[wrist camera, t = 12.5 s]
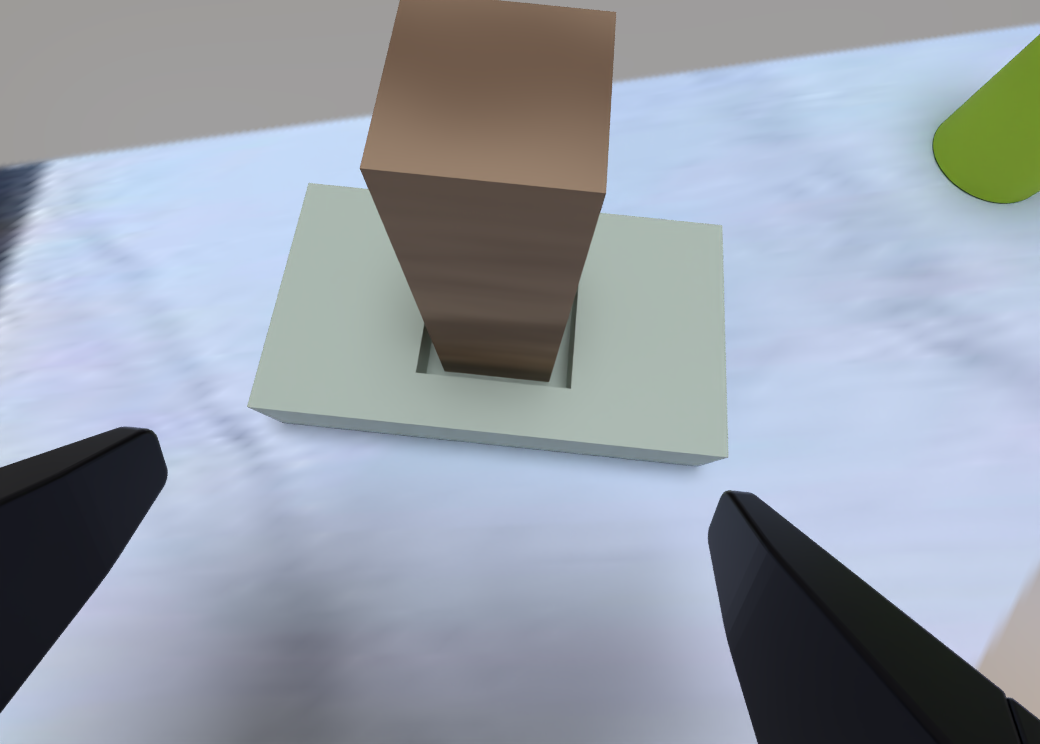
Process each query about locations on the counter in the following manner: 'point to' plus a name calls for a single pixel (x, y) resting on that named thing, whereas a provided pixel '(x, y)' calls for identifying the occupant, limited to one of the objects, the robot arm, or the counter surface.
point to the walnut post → (493, 171)
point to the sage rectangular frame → (497, 400)
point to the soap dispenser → (997, 134)
